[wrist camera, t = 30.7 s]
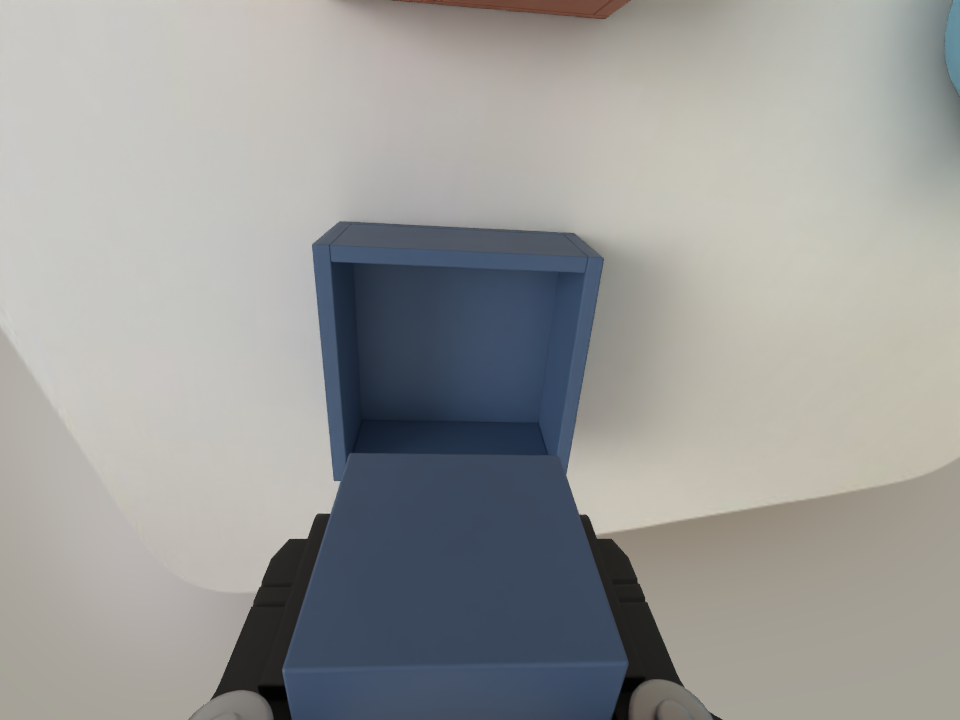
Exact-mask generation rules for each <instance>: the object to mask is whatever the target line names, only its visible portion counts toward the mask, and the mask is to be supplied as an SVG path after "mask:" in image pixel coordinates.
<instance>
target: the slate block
mask: <svg viewBox="0 0 960 720" xmlns="http://www.w3.org/2000/svg"><path fill="white" fill-rule="evenodd" d="M627 668H628V659H627V656H626V653H625V650H624V647H623V644H622V641H621V638H620V635H619V632H618V629H617V626H616V623H615V620H614V617H613V614H612V611H611V608H610V605H609V602H608V599H607V596H606V593H605V590H604V587H603V584H602V581H601V578H600V575H599V572H598V569H597V567H596V564H595V561H594V558H593V555H592V552H591V549H590V546H589V543H588V540H587V537H586V534H585V531H584V528H583V525H582V522H581V519H580V516H579V513H578V510H577V507H576V504H575V501H574V498H573V495H572V492H571V489H570V486H569V483H568V480H567V477H566V474H565V471H564V468H563V465H562V462H561V459H560V456H558V455H481V454H397V453H350V454H349V456H348V460H347V463H346V466H345V469H344V472H343V476H342V479H341V482H340V485H339V489H338V492H337V495H336V498H335V501H334V505H333V508H332V511H331V514H330V518H329V521H328V524H327V527H326V530H325V534H324V537H323V540H322V543H321V546H320V550H319V553H318V556H317V559H316V563H315V566H314V569H313V572H312V575H311V579H310V582H309V585H308V588H307V591H306V595H305V598H304V601H303V604H302V608H301V611H300V614H299V617H298V620H297V624H296V627H295V630H294V633H293V636H292V640H291V643H290V646H289V649H288V653H287V656H286V659H285V662H284V665H283V669H282V673H283V678H284V683H285V688H286V693H287V698H288V703H289V708H290V713H291V718H292V720H612V716H613V713H614V710H615V707H616V703H617V700H618V697H619V694H620V691H621V687H622V684H623V681H624V678H625V674H626V671H627Z"/></svg>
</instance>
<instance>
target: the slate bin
mask: <svg viewBox="0 0 960 720" xmlns="http://www.w3.org/2000/svg"><path fill="white" fill-rule="evenodd" d="M312 250H313V261H314V272H315V283H316V293H317V304H318V315H319V326H320V337H321V347H322V358H323V369H324V380H325V391H326V402H327V412H328V423H329V434H330V445H331V456H332V467H333V477H334V481H341V479H342V476H343V472H344V469H345V466H346V463H347V460H348V456H349V454H350V453H397V454H481V455H558V456H560V459H561V462H562V465H563V468H564V471H565V474H566V473H567V468H568V462H569V456H570V450H571V445H572V439H573V433H574V428H575V422H576V416H577V410H578V405H579V399H580V393H581V387H582V382H583V376H584V370H585V365H586V359H587V353H588V347H589V342H590V336H591V330H592V324H593V319H594V313H595V307H596V302H597V296H598V290H599V284H600V279H601V273H602V267H603V261H604V258H603V257H602V256H601V255H599V254H598V253H597V252H596V251H595V250H593V249H592V248H591V247H590V246H589V245H587V244H586V243H585V242H584V241H582V240H581V239H580V238H579V237H578V236H577V235H575V234H574V233H558V232H538V231H518V230H498V229H479V228H459V227H439V226H419V225H399V224H380V223H360V222H338V223H337V224H336V225H335V226H333V227H332V228H331V229H330V230H329V231H328V232H326V233H325V234H324V235H323V236H322V237H320V238H319V239H318V240H317V241H316V242H315V243H313V244H312Z"/></svg>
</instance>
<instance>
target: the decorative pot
mask: <svg viewBox="0 0 960 720" xmlns="http://www.w3.org/2000/svg"><path fill="white" fill-rule="evenodd" d="M945 61H946V65H947V69H948V72H949V76H950V79H951V81H952V83H953V85H954V86H955V88H956V90H957V92H958V94H959V96H960V0H953V3H952V6H951V10H950V13H949V16H948V21H947V28H946V35H945Z"/></svg>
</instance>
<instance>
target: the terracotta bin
mask: <svg viewBox="0 0 960 720" xmlns="http://www.w3.org/2000/svg"><path fill="white" fill-rule="evenodd" d="M395 1H407V2H418V3H429V4H441V5H452V6H463V7H475V8H486V9H498V10H509V11H520V12H532V13H543V14H554V15H566V16H577V17H588V18H600V19H606V18H607V17H608V16H609V15H611V14H612V13H614V12H615V11H616V10H618V9H619V8H621V7H622V6H623V5H625V4H626V3H628V2H629V1H631V0H395Z"/></svg>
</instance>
